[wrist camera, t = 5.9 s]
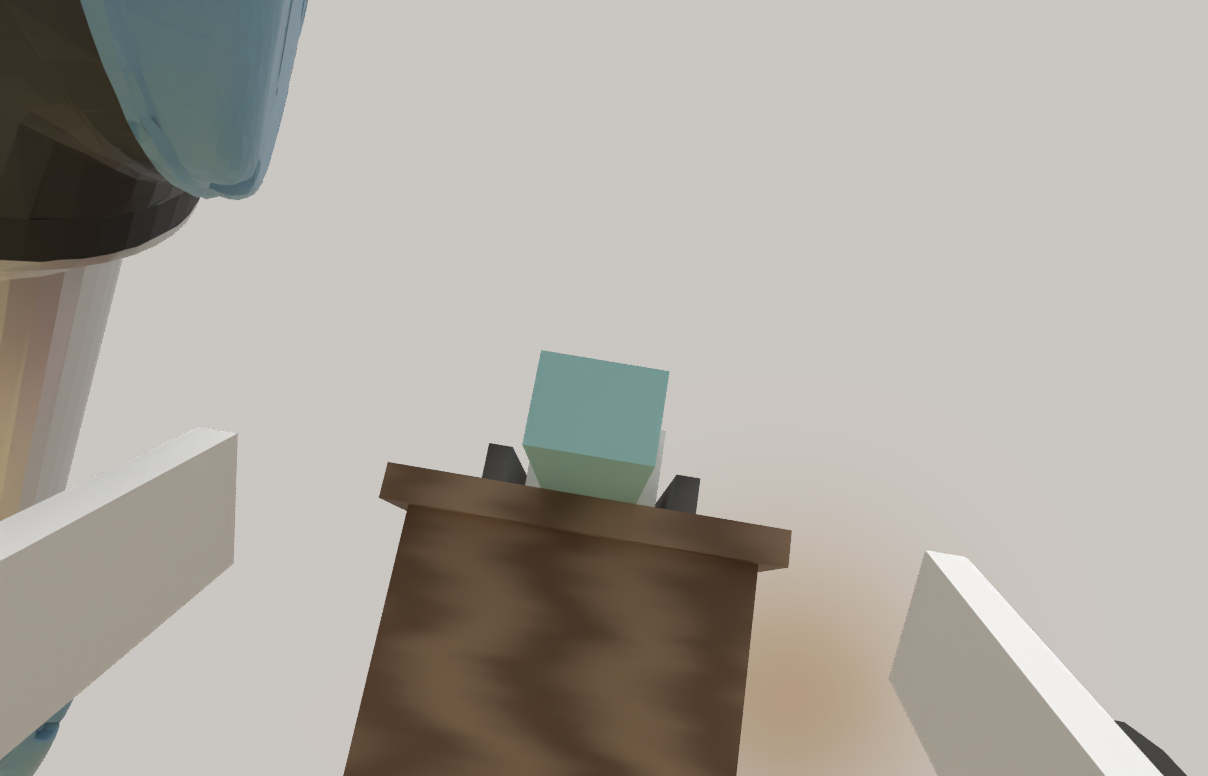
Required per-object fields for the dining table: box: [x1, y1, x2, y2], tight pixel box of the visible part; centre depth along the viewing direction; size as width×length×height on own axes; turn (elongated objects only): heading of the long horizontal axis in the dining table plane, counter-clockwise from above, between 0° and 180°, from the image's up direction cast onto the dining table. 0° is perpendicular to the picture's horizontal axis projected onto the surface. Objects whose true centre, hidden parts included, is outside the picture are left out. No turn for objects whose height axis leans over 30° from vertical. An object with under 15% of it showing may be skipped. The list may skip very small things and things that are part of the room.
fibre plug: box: [522, 351, 669, 507], centre depth 33 cm, size 6×23×4 cm, turn 1°
